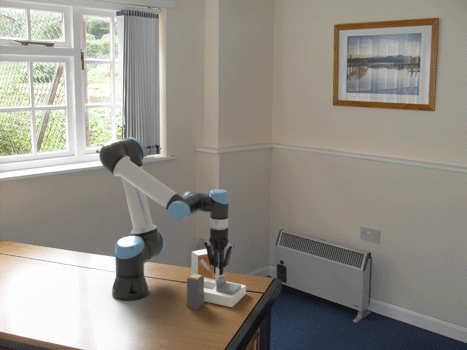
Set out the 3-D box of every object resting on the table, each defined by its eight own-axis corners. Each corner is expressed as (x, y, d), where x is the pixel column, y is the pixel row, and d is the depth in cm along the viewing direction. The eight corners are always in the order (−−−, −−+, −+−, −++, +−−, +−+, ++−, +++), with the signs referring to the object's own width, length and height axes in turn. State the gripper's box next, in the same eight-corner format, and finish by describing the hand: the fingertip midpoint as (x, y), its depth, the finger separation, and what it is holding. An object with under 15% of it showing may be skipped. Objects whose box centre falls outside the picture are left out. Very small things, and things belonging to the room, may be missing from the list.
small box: (197, 283, 236) (198, 255, 233) (190, 278, 241) (191, 251, 238) (213, 279, 240) (213, 252, 238) (206, 275, 245) (206, 248, 243)
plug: (186, 306, 213) (187, 277, 210) (192, 301, 217) (193, 272, 215) (197, 309, 211) (198, 279, 208) (203, 304, 215) (204, 274, 213)
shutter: (215, 290, 218) (215, 280, 218) (224, 283, 226) (224, 273, 225) (233, 294, 215) (233, 284, 214) (241, 286, 222) (241, 277, 222)
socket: (188, 297, 221) (188, 288, 220) (203, 285, 234) (203, 276, 233) (232, 307, 213) (232, 298, 212) (245, 294, 226) (245, 285, 225)
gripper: (200, 227, 216) (200, 281, 221) (229, 232, 211) (228, 287, 216) (209, 222, 223) (208, 275, 228) (237, 227, 218) (236, 281, 223)
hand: (218, 281), depth 222 cm, fingers closed
